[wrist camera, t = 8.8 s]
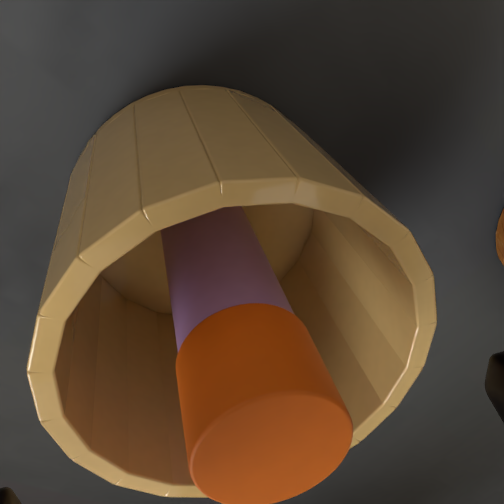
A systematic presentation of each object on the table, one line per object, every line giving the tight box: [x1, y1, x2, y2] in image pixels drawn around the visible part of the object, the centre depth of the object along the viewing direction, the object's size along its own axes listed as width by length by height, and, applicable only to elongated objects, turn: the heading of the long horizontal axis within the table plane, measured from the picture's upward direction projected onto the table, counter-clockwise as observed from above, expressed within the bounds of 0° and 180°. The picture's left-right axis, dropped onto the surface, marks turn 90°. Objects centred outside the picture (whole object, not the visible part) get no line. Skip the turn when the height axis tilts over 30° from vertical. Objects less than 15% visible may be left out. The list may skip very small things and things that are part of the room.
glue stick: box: [161, 206, 353, 504], centre depth 12 cm, size 3×3×9 cm
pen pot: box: [26, 85, 437, 498], centre depth 13 cm, size 9×9×8 cm
